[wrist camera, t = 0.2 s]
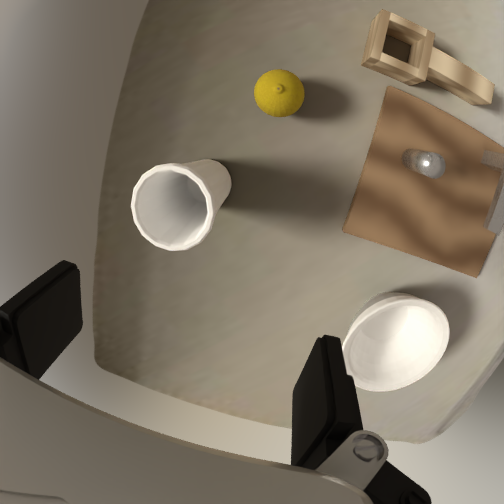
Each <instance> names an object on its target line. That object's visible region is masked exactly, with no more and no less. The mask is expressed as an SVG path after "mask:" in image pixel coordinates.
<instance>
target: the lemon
mask: <svg viewBox="0 0 504 504" xmlns="http://www.w3.org/2000/svg"><path fill="white" fill-rule="evenodd" d="M304 95H305V93H304V87H303V85H302V82H301V81H300V80H299V78H298V77H297V76H296V75H294V74H293V73H291V72H289V71H286V70H282V69H278V70H271V71H268V72H267V73H265V74H263V75H262V76H261V77H260V78H259V79H258V81H257V83H256V85H255V89H254V96H255V100H256V103H257V104H258V106H259V107H260V109H261V110H262V111H264V112H265V113H267V114H268V115H271V116H274V117H285V116H289V115H291V114H293V113H295V112H296V111H297V110H298V109H299V108H300V107H301V105H302V103H303V101H304Z"/></svg>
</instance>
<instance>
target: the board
mask: <svg viewBox="0 0 504 504" xmlns="http://www.w3.org/2000/svg"><path fill="white" fill-rule="evenodd" d="M409 148H413V149H418V150H423V151H428V152H433V153H438V154H440V155H441V156H442V157H443V159H444V161H445V165H446V167H445V172H444V174H443V175H442V176H441V177H439V178H437V179H433V178H430V177H428V176H425V175H423V174H420V173H417V172H414V171H412V170H409V169H407V168H406V167H405V166H404V165H403V163H402V155H403V153H404V151H405V150H407V149H409ZM484 150H487V151H492V152H497V153H502V154H504V148H503V147H502V146H500V145H499V144H497V143H496V142H494V141H493V140H491V139H490V138H488V137H486V136H485V135H483V134H482V133H480V132H479V131H477V130H475V129H474V128H472V127H470V126H469V125H467V124H465V123H464V122H462V121H460V120H458V119H457V118H455V117H453V116H451V115H449V114H448V113H446V112H444V111H442V110H440V109H438V108H436V107H434V106H432V105H430V104H428V103H426V102H424V101H422V100H420V99H418V98H416V97H414V96H412V95H410V94H408V93H406V92H403V91H401V90H399V89H397V88H394V87H392V86H388V87H387V89H386V93H385V96H384V100H383V104H382V107H381V111H380V114H379V118H378V121H377V125H376V128H375V132H374V135H373V138H372V142H371V145H370V148H369V151H368V155H367V158H366V161H365V164H364V167H363V170H362V173H361V177H360V180H359V183H358V186H357V189H356V192H355V194H354V197H353V200H352V203H351V206H350V209H349V212H348V215H347V217H346V220H345V223H344V226H343V229H342V230H343V232H345V233H348V234H351V235H354V236H357V237H360V238H364V239H367V240H370V241H373V242H376V243H379V244H382V245H385V246H388V247H391V248H394V249H397V250H400V251H403V252H405V253H408V254H411V255H414V256H417V257H420V258H423V259H426V260H428V261H431V262H434V263H437V264H440V265H442V266H445V267H448V268H451V269H453V270H456V271H459V272H461V273H464V274H467V275H470V276H472V277H475V278H477V276H478V274H479V272H480V270H481V268H482V265H483V263H484V261H485V259H486V257H487V254H488V252H489V250H490V247H491V245H492V243H493V240H494V238H495V235H496V234H495V233H493V232H492V231H490V230H488V229H486V228H484V227H483V225H484V222H485V219H486V217H487V214H488V211H489V209H490V206H491V203H492V200H493V197H494V194H495V191H496V188H497V185H498V182H499V178H500V175H501V172H498V171H495V170H492V169H490V168H489V167H487V166H485V165H484V164H482V163H481V160H482V157H483V153H484Z"/></svg>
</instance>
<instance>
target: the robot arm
mask: <svg viewBox="0 0 504 504" xmlns="http://www.w3.org/2000/svg"><path fill="white" fill-rule="evenodd" d="M82 325H83V320H82V308H81V291H80V271H79V269H77V266H76V264H74V263H71V262H68V261H65V260H63V261H61V262H59V263H58V264H57V265H55V266H54V267H52V268H51V269H49V270H48V271H47V272H45V273H44V274H43V275H41V276H40V277H38V278H37V279H36V280H34V281H33V282H32V283H30V284H29V285H28V286H26V287H25V288H24V289H22V290H21V291H20V292H18V293H17V294H16V295H15V296H13V297H12V298H11V299H10V300H8V301H7V302H6V303H4V304H3V305H2V306H1V307H0V504H431V499H430V496H429V494H428V493H427V492H426V491H425V490H424V489H423V488H422V487H421V486H419V485H418V484H416V483H415V482H414V481H413V480H411V479H410V478H409V477H407V476H406V475H405V474H403V473H402V472H401V471H399V470H398V469H397V468H396V467H394V466H393V465H392V464H390V463H389V462H388V461H387V460H386V459H387V457H388V447H387V444H386V443H385V441H384V440H383V439H382V438H381V437H380V436H379V435H377V434H376V433H374V432H371V431H367V430H363V425H362V420H361V414H360V409H359V404H358V399H357V394H356V389H355V384H354V379H353V377H352V376H351V375H347V371H346V366H345V361H344V356H343V351H342V346H341V341H340V338H338V337H334V336H329V335H324V336H323V337H322V338H319V337H318V338H317V340H316V342H315V344H314V346H313V349H312V351H311V353H310V355H309V357H308V360H307V362H306V364H305V366H304V368H303V370H302V372H301V374H300V377H299V379H298V381H297V383H296V385H295V387H294V390H293V400H292V449H291V465H288V464H282V463H278V462H272V461H266V460H261V459H256V458H251V457H247V456H242V455H238V454H233V453H229V452H225V451H221V450H216V449H213V448H209V447H205V446H201V445H197V444H194V443H190V442H187V441H183V440H180V439H177V438H173V437H171V436H167V435H164V434H161V433H158V432H155V431H152V430H150V429H146V428H144V427H141V426H138V425H136V424H133V423H130V422H128V421H125V420H123V419H120V418H117V417H115V416H113V415H110V414H108V413H106V412H103V411H101V410H99V409H96V408H94V407H92V406H90V405H87V404H85V403H83V402H81V401H79V400H77V399H75V398H73V397H71V396H68V395H66V394H64V393H62V392H61V391H59V390H57V389H55V388H53V387H51V386H49V385H47V384H45V383H43V382H41V381H40V380H39V379H40V378H41V377H42V375H43V374H44V373H45V372H46V370H47V369H48V368H49V367H50V366H51V364H52V363H53V362H54V361H55V360H56V359H57V357H58V356H59V355H60V354H61V353H62V352H63V350H64V349H65V348H66V347H67V346H68V345H69V344H70V342H71V341H72V340H73V339H74V338H75V337H76V336H77V334H78V333H79V332H80V331H81V329H82Z"/></svg>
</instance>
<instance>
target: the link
mask: <svg viewBox="0 0 504 504" xmlns="http://www.w3.org/2000/svg"><path fill="white" fill-rule="evenodd" d="M386 35H389V36H391V37H394V38H396V39H398V40H400V41H403V42H405V43H407V44H409V45H411V49H410V54H409V58H408V62H407V63H405V62H403V61H401V60H398V59H396V58H394V57H392V56H389V55H387V54H384V53H382V50H383V45H384V41H385V37H386ZM434 37H435V33H433V32H431V31H429V30H427V29H425V28H423V27H421V26H419V25H417V24H415V23H413V22H411V21H409V20H406V19H404V18H402V17H400V16H398V15H395V14H393V13H391V12H388V11H386V10H383V9H382V10H381V11H380V12H379V13H378V15H377V16H376V17H375V18H374V19H373V21H372V23H371V27H370V31H369V35H368V39H367V43H366V47H365V51H364V55H363V59H362V62H361V66H364V67H367V68H369V69H372V70H374V71H377V72H379V73H382V74H384V75H387V76H389V77H391V78H394V79H396V80H398V81H400V82H403V83H405V84H407V85H409V86H411V85H414V84H418V83H421V82H424V81H426V80H428V81H430V82H432V83H434V84H436V85H438V86H440V87H442V88H444V89H445V90H447V91H449V92H451V93H453V94H454V95H456V96H458V97H459V98H461V99H463V100H465V101H466V102H468V103H469V104H471V105H481V104H491V102H492V97H493V91H494V86H495V84H493V83H492V82H490V81H489V80H487V79H486V78H485V77H483V76H482V75H480V74H479V73H477V72H475V71H474V70H472V69H471V68H469V67H468V66H466V65H464V64H463V63H461V62H459V61H458V60H456V59H454V58H453V57H451V56H449V55H447V54H446V53H444V52H442V51H440V50H438V49H436V48H435V47H433V42H434Z"/></svg>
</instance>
